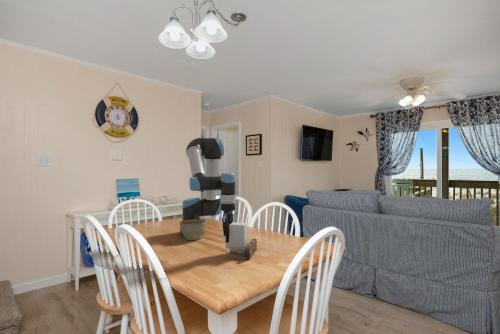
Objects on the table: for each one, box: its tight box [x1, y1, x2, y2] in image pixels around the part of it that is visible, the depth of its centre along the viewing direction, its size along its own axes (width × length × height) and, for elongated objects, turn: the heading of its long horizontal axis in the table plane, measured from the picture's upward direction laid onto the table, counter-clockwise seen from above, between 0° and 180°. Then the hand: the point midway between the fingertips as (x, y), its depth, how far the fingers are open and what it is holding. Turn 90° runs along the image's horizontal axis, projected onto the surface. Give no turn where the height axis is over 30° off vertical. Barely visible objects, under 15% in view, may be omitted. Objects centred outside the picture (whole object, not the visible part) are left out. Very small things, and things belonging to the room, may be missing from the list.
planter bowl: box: [179, 218, 207, 241], centre depth 173 cm, size 16×16×11 cm
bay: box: [228, 238, 258, 261], centre depth 142 cm, size 16×10×6 cm, turn 166°
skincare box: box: [229, 221, 249, 252], centre depth 142 cm, size 8×7×16 cm
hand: (228, 248), depth 143 cm, fingers closed
